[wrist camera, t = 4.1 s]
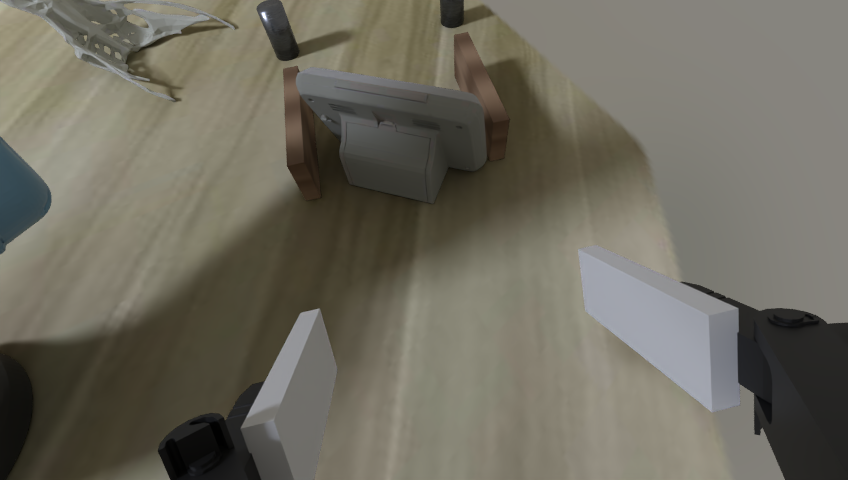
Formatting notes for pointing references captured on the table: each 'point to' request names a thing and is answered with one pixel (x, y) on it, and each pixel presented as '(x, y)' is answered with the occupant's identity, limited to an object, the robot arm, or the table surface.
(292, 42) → the posts
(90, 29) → the skeletal model
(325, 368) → the robot arm
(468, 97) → the digital clock
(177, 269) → the table surface
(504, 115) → the chute
